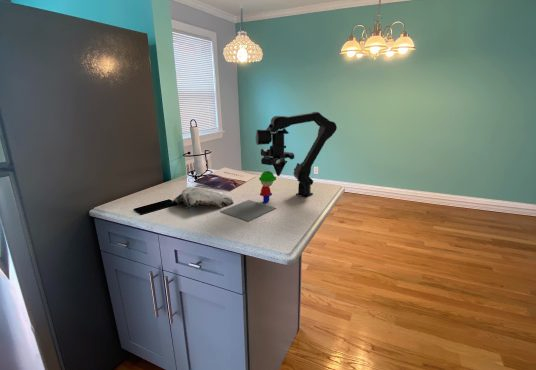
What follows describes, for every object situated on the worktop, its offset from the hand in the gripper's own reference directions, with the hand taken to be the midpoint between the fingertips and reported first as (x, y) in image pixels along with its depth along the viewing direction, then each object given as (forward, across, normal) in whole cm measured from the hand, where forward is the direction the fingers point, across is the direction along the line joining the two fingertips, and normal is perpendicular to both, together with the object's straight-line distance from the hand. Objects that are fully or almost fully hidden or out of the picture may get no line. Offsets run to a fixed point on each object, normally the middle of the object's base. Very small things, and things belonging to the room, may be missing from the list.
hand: (278, 175), depth 145 cm
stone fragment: (+12, +28, -25) cm, 39 cm away
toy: (+11, +8, 0) cm, 14 cm away
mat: (+11, +22, 0) cm, 24 cm away
